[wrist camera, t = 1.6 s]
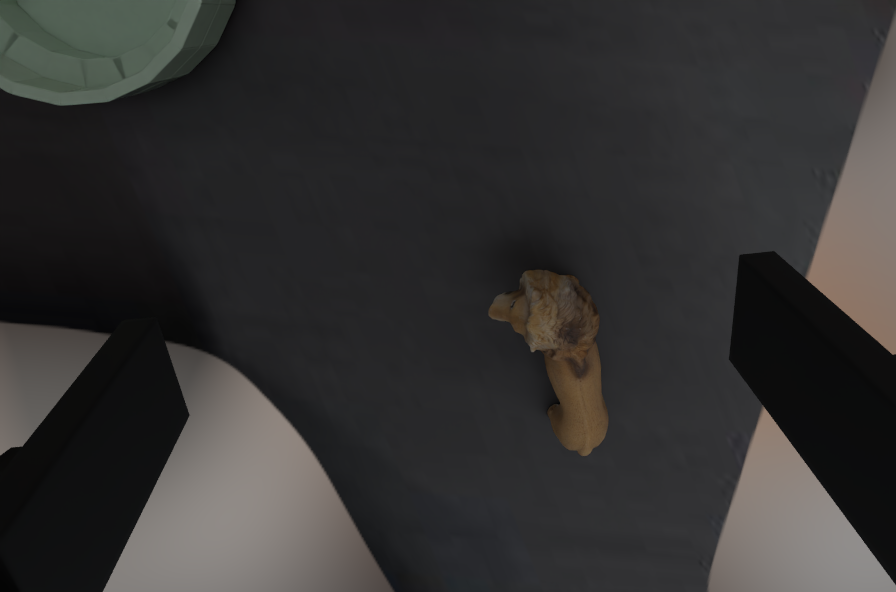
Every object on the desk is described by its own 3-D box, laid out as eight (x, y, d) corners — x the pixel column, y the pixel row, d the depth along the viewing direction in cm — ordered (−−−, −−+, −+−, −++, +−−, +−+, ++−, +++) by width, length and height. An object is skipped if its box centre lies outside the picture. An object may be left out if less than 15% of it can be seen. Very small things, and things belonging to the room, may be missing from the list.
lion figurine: (474, 254, 42) (482, 314, 33) (557, 219, 41) (587, 272, 32) (558, 443, 47) (583, 536, 38) (634, 415, 46) (676, 504, 38)
